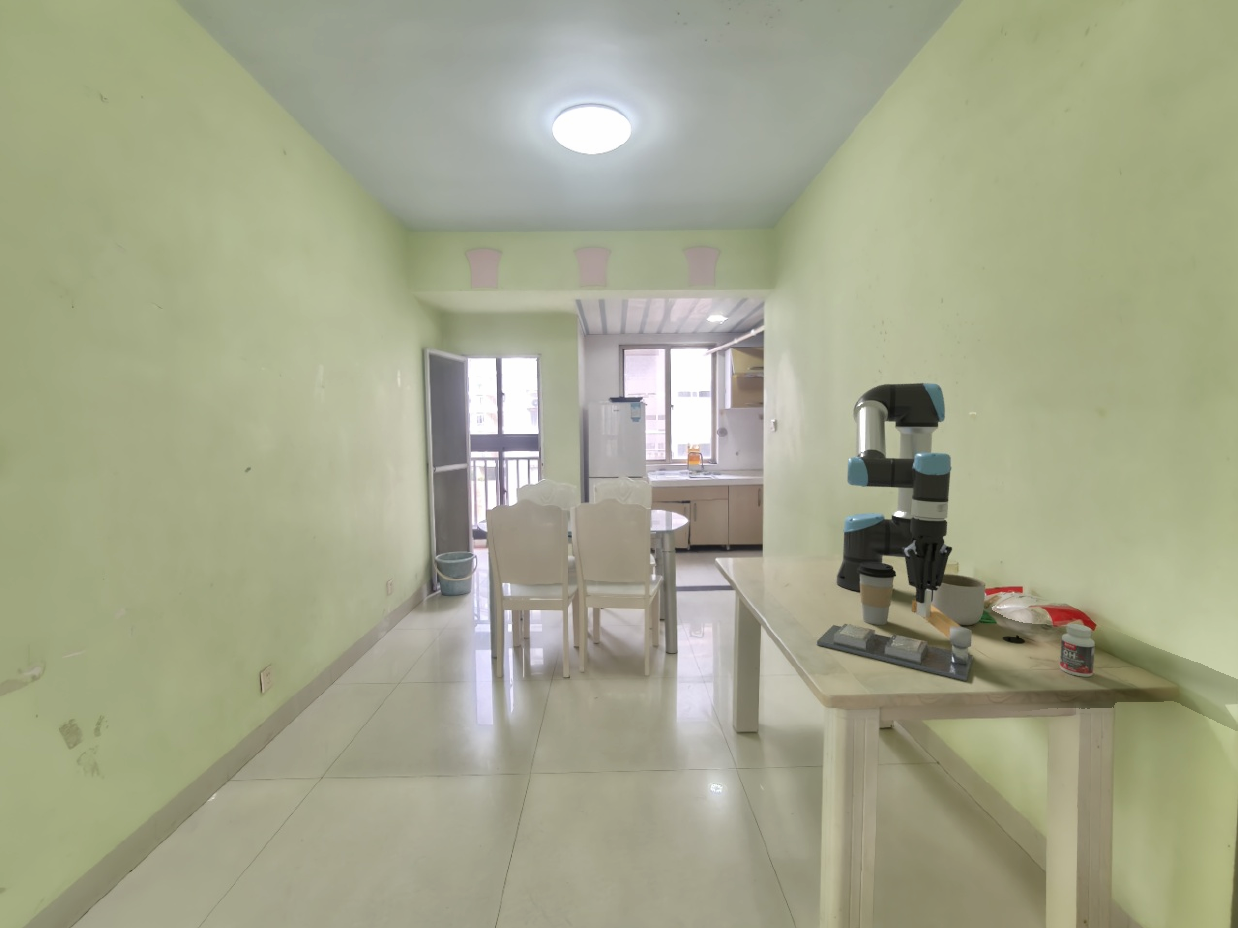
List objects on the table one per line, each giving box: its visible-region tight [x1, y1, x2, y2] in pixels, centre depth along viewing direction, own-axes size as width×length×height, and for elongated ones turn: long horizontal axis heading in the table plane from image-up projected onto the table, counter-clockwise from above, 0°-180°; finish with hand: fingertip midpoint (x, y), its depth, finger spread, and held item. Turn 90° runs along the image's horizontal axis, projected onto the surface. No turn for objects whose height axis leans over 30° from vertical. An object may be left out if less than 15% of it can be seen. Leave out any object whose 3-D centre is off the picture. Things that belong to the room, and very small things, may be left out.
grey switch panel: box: [816, 623, 974, 682], centre depth 125 cm, size 13×30×5 cm, turn 53°
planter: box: [931, 573, 986, 626], centre depth 146 cm, size 12×12×11 cm
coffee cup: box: [857, 562, 897, 626], centre depth 145 cm, size 9×9×15 cm
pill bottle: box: [1059, 623, 1096, 678], centre depth 115 cm, size 5×5×10 cm
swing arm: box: [911, 599, 973, 648], centre depth 127 cm, size 22×4×3 cm, turn 173°
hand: (923, 615), depth 131 cm, fingers closed
